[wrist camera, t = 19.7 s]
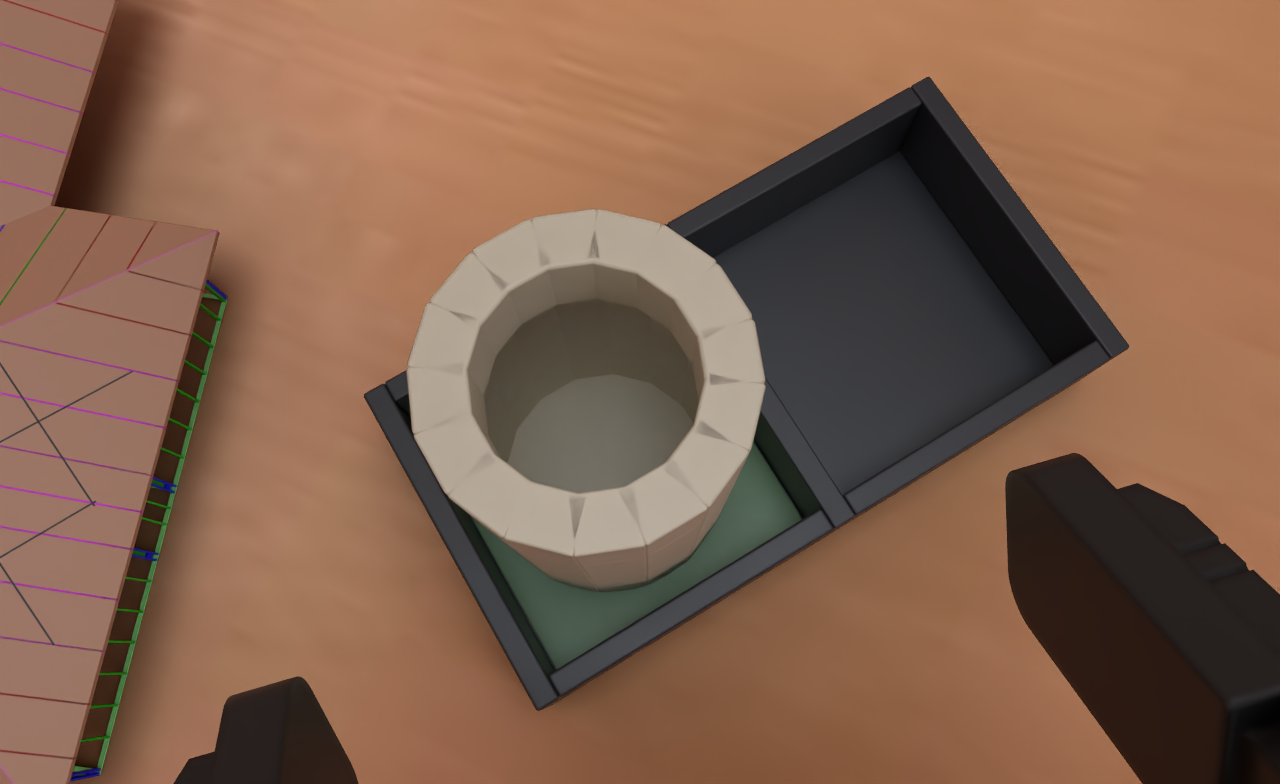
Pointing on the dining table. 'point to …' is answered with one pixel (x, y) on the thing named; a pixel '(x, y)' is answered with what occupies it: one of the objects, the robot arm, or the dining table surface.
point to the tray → (820, 369)
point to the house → (76, 392)
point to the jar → (588, 394)
